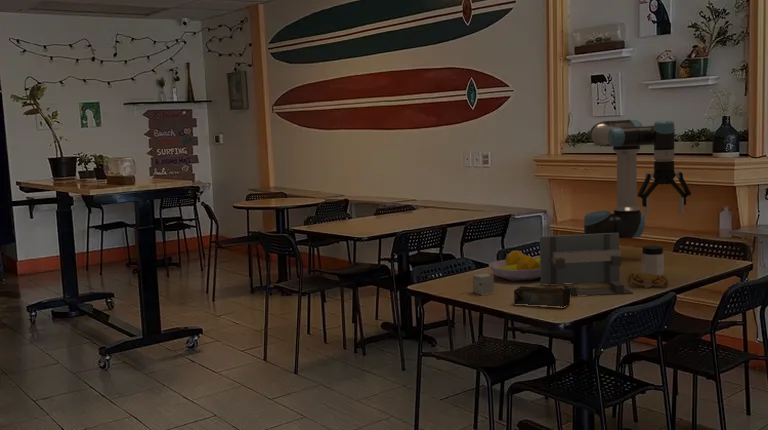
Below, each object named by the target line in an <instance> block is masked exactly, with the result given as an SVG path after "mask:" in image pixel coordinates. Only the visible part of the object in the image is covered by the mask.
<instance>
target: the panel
mask: <svg viewBox="0 0 768 430" xmlns="http://www.w3.org/2000/svg"><path fill="white" fill-rule="evenodd" d="M604 249H619V250H620V238H619V233H602V234H584V233H583V234H567V235H565V234H564V235H563V234H561V235H546V236H543V235H540V236H539V253H540V254H539V257H540V271H541V277H540V286H543V285H542V284H559V285H564V283H579V284H595V283H596V284H597V283H610V282H616V281H618V282H620V267H621V266H622V265H621V264H622V263H621V262H622V255H621V256H612V261H598V262H577V263H565V259H557V264H555V263H554V262H553V252H563V251H583V250H604Z"/></svg>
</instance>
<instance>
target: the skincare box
mask: <svg viewBox="0 0 768 430" xmlns="http://www.w3.org/2000/svg"><path fill="white" fill-rule="evenodd" d="M494 276H495V275H492V274H489V273H486V272H483V273H478V274H473V275H472V292H475V293H474V294H476V293H479V294H486V293H491V292H494V291H495V290H494V289H495V288H494V287H495V286H494V285H495V283H494V279H495V278H494ZM494 293H495V292H494ZM479 294H478V295H479Z"/></svg>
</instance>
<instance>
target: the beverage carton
mask: <svg viewBox="0 0 768 430" xmlns="http://www.w3.org/2000/svg"><path fill="white" fill-rule="evenodd" d="M513 303H514V304H528V305H547V306H560V307H561V306H562V307H564V306H566V305H568V304H569V303H570V304H571V297H570V289H564V287H537V286H525V285H524V286H522V285H521V286H518V287H516V289H514V290H513Z"/></svg>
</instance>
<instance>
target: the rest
mask: <svg viewBox="0 0 768 430" xmlns="http://www.w3.org/2000/svg"><path fill="white" fill-rule="evenodd" d="M609 288H610V289H590V290H578V287H577V286H576V285H575V284H563V289H570V295H571V296H578V295H600V296H612V295H613V296H614V295H615V296H616V295H617V294H620V295H633V294H634V292H633V291H631V290H630V289H629V288H625V284H623V283H621V282H620V281H619V282H618V281H616V282H609Z"/></svg>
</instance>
